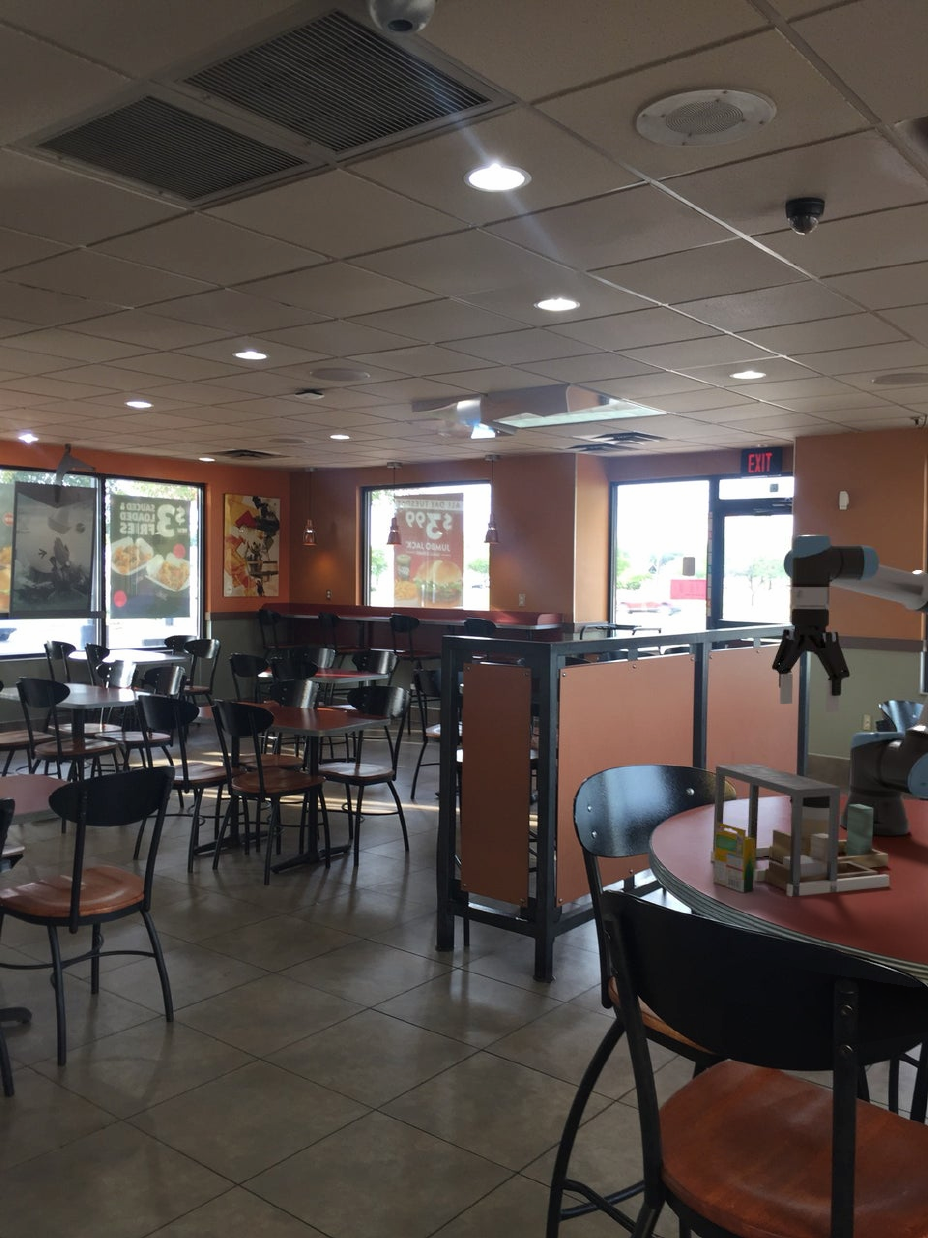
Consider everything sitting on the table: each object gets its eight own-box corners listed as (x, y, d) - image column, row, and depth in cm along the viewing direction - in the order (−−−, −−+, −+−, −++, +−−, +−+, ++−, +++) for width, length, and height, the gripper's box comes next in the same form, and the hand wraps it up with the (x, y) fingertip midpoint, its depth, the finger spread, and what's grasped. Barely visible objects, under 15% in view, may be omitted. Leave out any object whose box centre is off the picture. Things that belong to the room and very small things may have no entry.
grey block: (803, 881, 189) (804, 855, 189) (821, 888, 185) (822, 862, 184) (782, 883, 187) (783, 857, 187) (800, 890, 183) (801, 864, 183)
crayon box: (754, 891, 181) (756, 828, 181) (743, 893, 180) (745, 830, 179) (723, 880, 188) (726, 820, 187) (712, 882, 186) (715, 821, 186)
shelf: (753, 856, 205) (756, 763, 205) (836, 891, 182) (840, 787, 182) (712, 860, 202) (716, 765, 201) (792, 896, 179) (796, 789, 178)
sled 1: (845, 850, 212) (847, 800, 212) (887, 866, 201) (889, 812, 200) (769, 857, 205) (771, 804, 204) (808, 873, 194) (810, 818, 193)
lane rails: (801, 852, 210) (801, 843, 210) (888, 886, 187) (889, 875, 187) (710, 860, 201) (710, 850, 201) (790, 896, 179) (790, 885, 178)
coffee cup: (837, 872, 196) (840, 797, 195) (789, 867, 198) (792, 793, 197) (830, 860, 204) (833, 788, 204) (785, 856, 206) (788, 785, 206)
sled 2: (848, 873, 195) (850, 828, 194) (877, 884, 188) (879, 837, 187) (765, 881, 188) (766, 834, 187) (791, 893, 180) (793, 844, 180)
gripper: (756, 606, 219) (755, 701, 220) (841, 609, 196) (839, 715, 197) (783, 606, 222) (781, 699, 223) (869, 609, 199) (867, 713, 200)
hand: (808, 707), depth 210 cm, fingers open, 13 cm apart
